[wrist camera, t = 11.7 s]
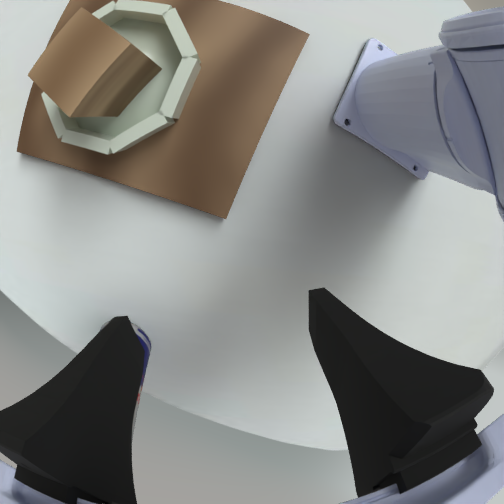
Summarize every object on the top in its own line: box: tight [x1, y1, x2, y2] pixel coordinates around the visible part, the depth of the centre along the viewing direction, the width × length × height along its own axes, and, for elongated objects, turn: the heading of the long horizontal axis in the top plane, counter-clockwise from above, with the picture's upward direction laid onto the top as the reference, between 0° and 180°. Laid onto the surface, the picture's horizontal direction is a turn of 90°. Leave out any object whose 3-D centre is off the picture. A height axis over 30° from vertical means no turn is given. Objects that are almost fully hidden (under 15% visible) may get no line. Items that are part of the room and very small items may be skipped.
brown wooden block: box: [28, 7, 162, 117], centre depth 10 cm, size 4×4×6 cm
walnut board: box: [17, 0, 310, 219], centre depth 14 cm, size 18×14×1 cm
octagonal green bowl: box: [41, 0, 201, 155], centre depth 12 cm, size 10×10×2 cm
